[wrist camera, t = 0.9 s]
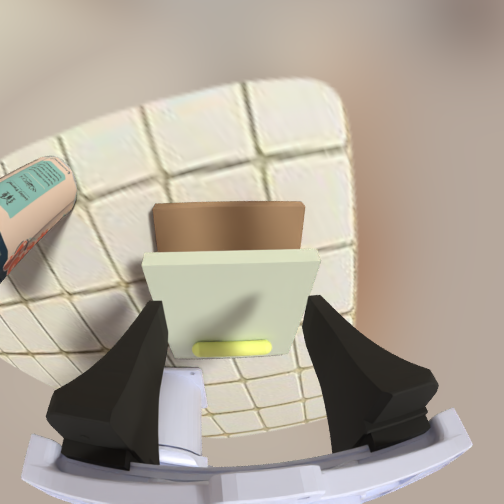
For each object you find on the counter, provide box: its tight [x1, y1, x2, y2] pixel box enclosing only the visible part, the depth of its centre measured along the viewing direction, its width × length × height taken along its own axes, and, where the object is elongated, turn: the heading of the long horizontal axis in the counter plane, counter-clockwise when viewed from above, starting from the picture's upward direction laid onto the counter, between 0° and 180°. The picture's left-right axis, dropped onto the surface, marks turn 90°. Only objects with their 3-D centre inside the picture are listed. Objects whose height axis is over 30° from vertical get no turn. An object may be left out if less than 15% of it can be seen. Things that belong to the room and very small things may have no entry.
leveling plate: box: [142, 249, 321, 359], centre depth 20 cm, size 10×12×2 cm
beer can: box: [0, 156, 77, 283], centre depth 12 cm, size 5×5×12 cm
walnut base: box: [153, 201, 305, 252], centre depth 22 cm, size 10×14×1 cm
